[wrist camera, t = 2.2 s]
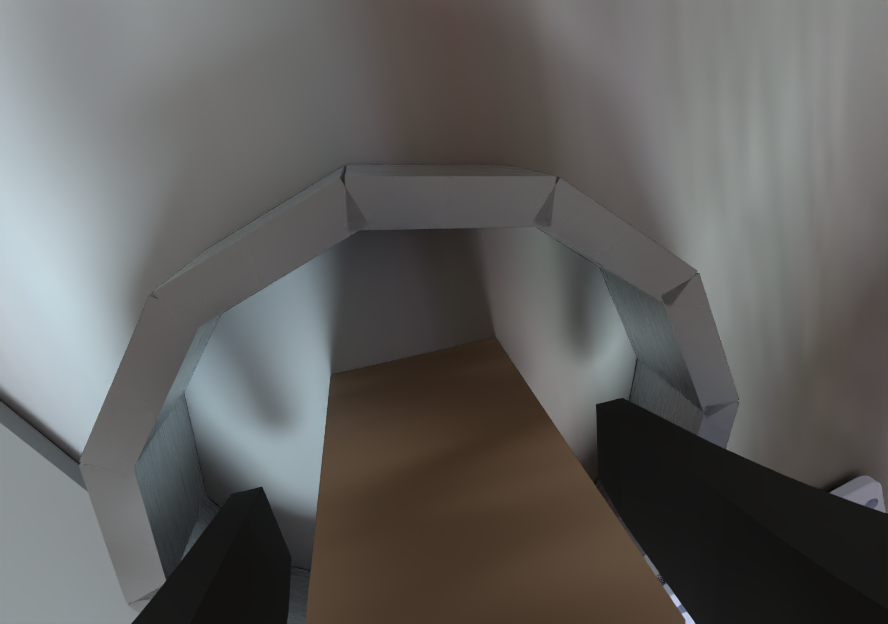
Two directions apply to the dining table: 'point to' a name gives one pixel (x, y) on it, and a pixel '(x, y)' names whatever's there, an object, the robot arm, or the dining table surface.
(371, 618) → the walnut block
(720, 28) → the dining table surface
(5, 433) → the slate mat
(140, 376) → the steel ring
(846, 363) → the dining table surface
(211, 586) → the robot arm
